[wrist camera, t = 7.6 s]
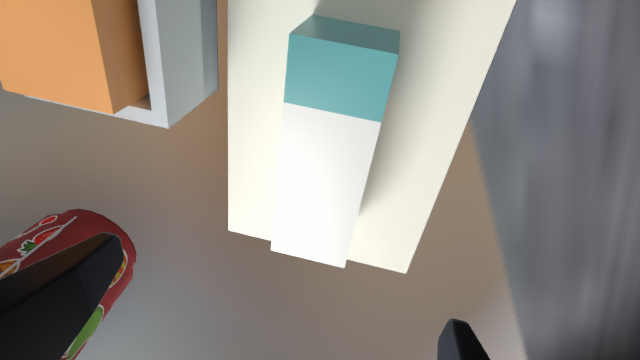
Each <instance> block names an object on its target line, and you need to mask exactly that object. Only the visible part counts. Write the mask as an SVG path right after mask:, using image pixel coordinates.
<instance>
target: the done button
mask: <svg viewBox="0 0 640 360" xmlns="http://www.w3.org/2000/svg"><path fill="white" fill-rule="evenodd" d="M0 80H1V82H2V85H3V88H4V90H6V91H10V92H15V93H19V94H23V95H28V96H32V97H36V98H41V99H45V100H50V101H54V102H59V103H63V104H68V105H72V106H77V107H81V108H86V109H90V110H95V111H99V112H104V113H108V114H113V115H114V114H115V113H117V112H119V111H120V110H122V109H124V108H125V107H127V106H129V105H130V104H132V103H134V102H135V101H137V100H139V99H140V98H142V97H143V96H145V95H147V94H148V93H149V86H148V78H147V71H146V63H145V55H144V48H143V40H142V33H141V25H140V17H139V10H138V2H137V0H0Z"/></svg>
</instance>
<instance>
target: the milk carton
mask: <svg viewBox="0 0 640 360" xmlns="http://www.w3.org/2000/svg"><path fill="white" fill-rule="evenodd" d="M399 43H400V31H398V30H392V29H387V28H382V27H376V26H371V25H366V24H360V23H355V22H350V21H344V20H339V19H334V18H328V17H323V16H318V15H311V16H310V17H309V18H307V19H306V20H305V21H304V22H303V23H301V24H300V25H299V26H298V27H296V28H295V29H294V30H293V31H291V32H290V33H289V42H288V54H287V66H286V78H285V89H284V101H283V113H282V125H281V136H280V148H279V160H278V172H277V183H276V195H275V207H274V219H273V231H272V243H271V250H272V251H276V252H280V253H284V254H289V255H293V256H297V257H301V258H305V259H309V260H313V261H317V262H321V263H325V264H329V265H334V266H338V267H341V268H344V267H345V264H346V260H347V256H348V252H349V248H350V244H351V240H352V236H353V232H354V228H355V224H356V220H357V217H358V213H359V209H360V205H361V201H362V197H363V193H364V189H365V185H366V181H367V177H368V173H369V169H370V166H371V162H372V158H373V154H374V150H375V146H376V142H377V138H378V134H379V130H380V126H381V122H382V119H383V115H384V111H385V107H386V103H387V99H388V95H389V91H390V87H391V83H392V79H393V75H394V71H395V68H396V64H397V60H398V56H399Z"/></svg>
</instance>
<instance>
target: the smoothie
mask: <svg viewBox="0 0 640 360" xmlns="http://www.w3.org/2000/svg"><path fill="white" fill-rule="evenodd" d="M102 232H108V233H112V234H116V235H118V236H119V237H120V240H121V244H122V248H123V252H124V261H123V264H122V266H121V267H120V269H119V271H118V272H117V274H116V276H115V278H114V279H113V281H112V283H111V284H110V286H109V288H108V290H107V291H106V293H105V295H104V296H103V298H102V300H101V302H100V303H99V305H98V307H97V308H96V310H95V312H94V313H93V315H92V316H91V318H90V319H89V320H88V322H87V323H86V325H85V326H84V327H83V329H82V330H81V332H80V333H79V334H78V336H77V337H76V338H75V340H74V341H73V343H72V344H71V345H70V347H69V348H68V349H67V351H66V352H65V354H64V355H63V356H62V358H61V359H60V360H75V358H76V357H77V356H78V354H79V353H80V351H81V350H82V348H83V347H84V346H85V344H86V343H87V341H88V340H89V338H90V337H91V336H92V334H93V333H94V331H95V330H96V328H97V327H98V326H99V324H100V323H101V322H102V320H103V319H104V317H105V316H106V314H107V313H108V311H109V310H110V309H111V307H112V306H113V305H114V303H115V302H116V300H117V299H118V297H119V296H120V294H121V293H122V292H123V290H124V289H125V287H126V286H127V285H128V283H129V282H130V281H131V279H132V275H133V265H134V263H135V261H136V251H135V248H134V245H133V243H132V241H131V240H130V238H129V237H128V235H127V234H126V233H125V232H124V231H123V230H122V229H121V228H120V227H119V226H118V225H117V224H115V223H114V222H112V221H111V220H109V219H108V218H106V217H104V216H102V215H100V214H97V213H95V212H93V211H88V210H82V209H74V210H69V211H66V212H65V213H63V214H54V215H48V216H46V217H45V218H43V219H42V220H40V221H39V222H37V223H36V224H34V225H33V226H32V227H30V228H29V229H27V230H26V231H24V232H23V233H21V234H20V235H18V236H17V237H15V238H14V239H12V240H11V241H9V242H8V243H6V244H5V245H4V246H2V247H1V248H0V279H1V278H4V277H6V276H8V275H10V274H12V273H14V272H17V271H19V270H21V269H23V268H25V267H27V266H30V265H32V264H34V263H36V262H38V261H40V260H43V259H45V258H47V257H49V256H51V255H53V254H56V253H58V252H60V251H62V250H64V249H66V248H69V247H71V246H73V245H75V244H77V243H79V242H82V241H84V240H86V239H88V238H90V237H93V236H95V235H97V234H99V233H102Z"/></svg>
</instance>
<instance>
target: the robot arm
mask: <svg viewBox="0 0 640 360" xmlns="http://www.w3.org/2000/svg"><path fill="white" fill-rule="evenodd" d="M123 261H124V252H123V248H122V244H121V240H120V237H119V236H118V235H116V234H112V233H108V232H102V233H99V234H97V235H95V236H93V237H90V238H88V239H86V240H84V241H82V242H79V243H77V244H75V245H73V246H71V247H69V248H66V249H64V250H62V251H60V252H58V253H56V254H53V255H51V256H49V257H47V258H45V259H43V260H40V261H38V262H36V263H34V264H32V265H30V266H27V267H25V268H23V269H21V270H19V271H17V272H14V273H12V274H10V275H8V276H6V277H4V278H1V279H0V360H60V359H61V358H62V356H63V355H64V354H65V352H66V351H67V349H68V348H69V347H70V345H71V344H72V343H73V341H74V340H75V338H76V337H77V336H78V334H79V333H80V332H81V330H82V329H83V327H84V326H85V325H86V323H87V322H88V320H89V319H90V318H91V316H92V315H93V313H94V312H95V310H96V308H97V307H98V305H99V303H100V302H101V300H102V298H103V296H104V295H105V293H106V291H107V290H108V288H109V286H110V284H111V283H112V281H113V279H114V278H115V276H116V274H117V272H118V271H119V269H120V267H121V266H122V264H123ZM437 360H490V358H489V357H488V355H487V353H486V352H485V350H484V349H483V347H482V345H481V344H480V342H479V340H478V339H477V337H476V335H475V334H474V332H473V331H472V329H471V327H470V326H469V324H468V323H466V322H465V321H461V320H457V319H450V320H449V321H448V322H447V324H446V326H445V328H444V329H443V331H442V333H441V335H440V337H439V341H438V356H437Z"/></svg>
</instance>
